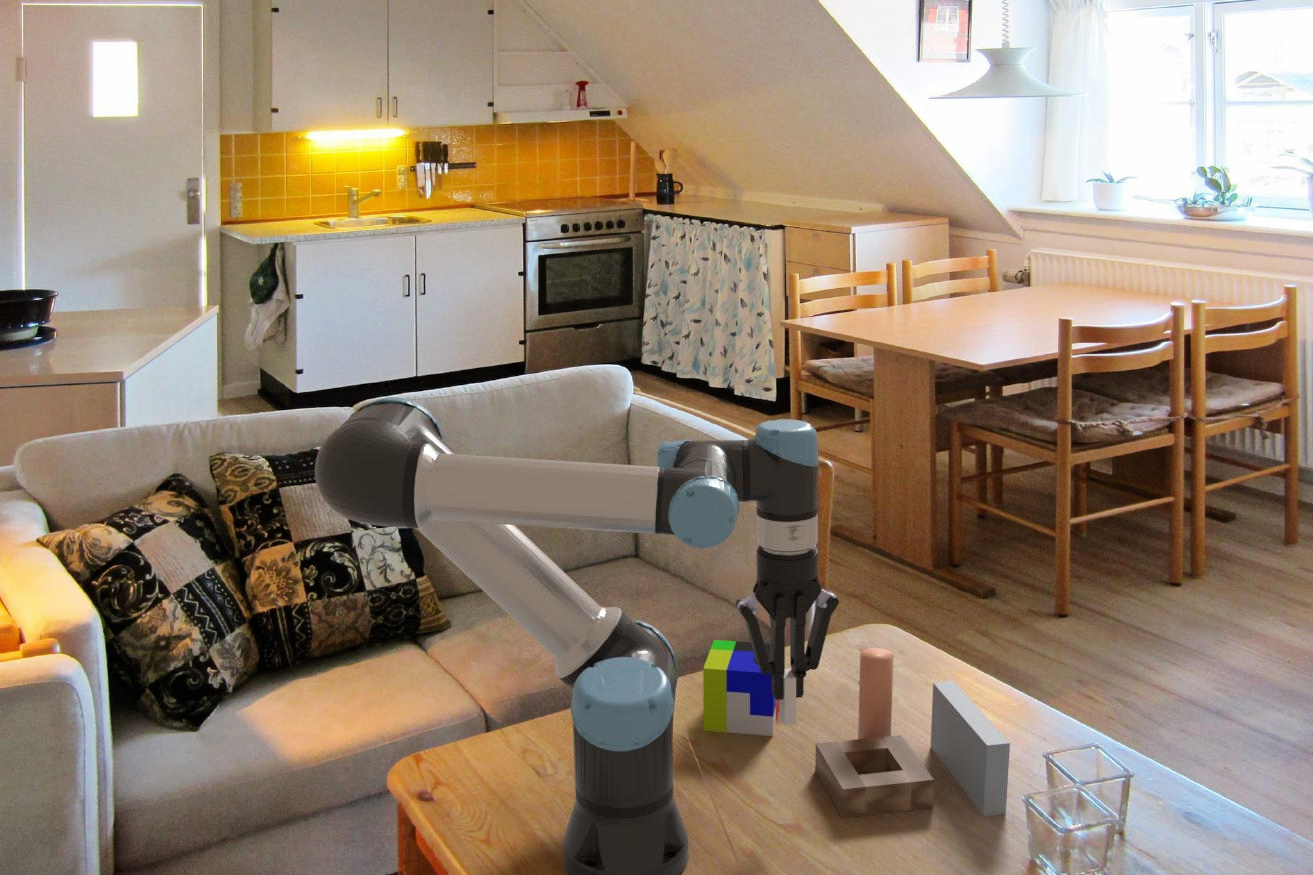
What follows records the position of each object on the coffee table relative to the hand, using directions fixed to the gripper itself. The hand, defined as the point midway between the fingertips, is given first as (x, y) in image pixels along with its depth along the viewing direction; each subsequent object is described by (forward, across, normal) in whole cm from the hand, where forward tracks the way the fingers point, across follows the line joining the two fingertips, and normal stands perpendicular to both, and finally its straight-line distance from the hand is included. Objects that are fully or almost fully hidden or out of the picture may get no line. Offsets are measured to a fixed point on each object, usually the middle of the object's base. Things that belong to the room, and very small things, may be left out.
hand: (787, 720), depth 164 cm
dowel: (+12, +16, +11) cm, 22 cm away
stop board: (+12, +24, 0) cm, 27 cm away
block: (+11, +12, 0) cm, 16 cm away
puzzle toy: (+12, 0, +23) cm, 26 cm away
